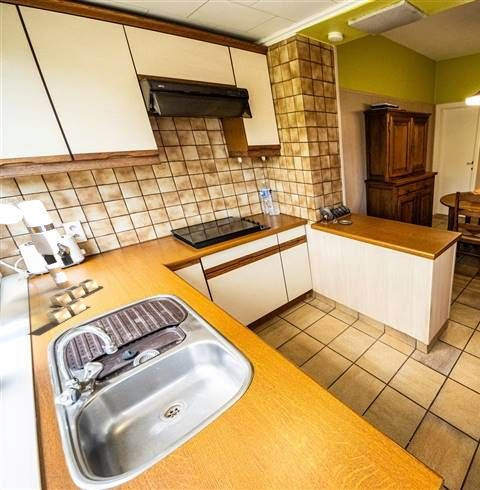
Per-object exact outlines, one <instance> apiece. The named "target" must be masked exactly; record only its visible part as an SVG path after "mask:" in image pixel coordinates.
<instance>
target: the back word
mask: <svg viewBox="0 0 480 490" xmlns="http://www.w3.org/2000/svg"><path fill="white" fill-rule="evenodd" d="M103 289H104V286H103V285H98V288H96V289H94V290H92V291H90V292H85V291H84V290H83V288H82V286H79V285H73V286H71V287H68V288H67V289H64V290H63V292H58V293H56V294H53V295H52V296H50V297H48V299H49V300H50V302H51V303H52V305H51V306H49V307H48V308H49V309H56V308H64V307H63V305H64V304H66V303H68V302H70V301H72V300H80V299H85V298H88V297H89V296H91V295H93V294H95V293H97V292H98V291H101V290H103Z"/></svg>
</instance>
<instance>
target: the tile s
mask: <svg viewBox="0 0 480 490" xmlns="http://www.w3.org/2000/svg"><path fill="white" fill-rule="evenodd" d="M77 286H82V288H83V290H84V291H85V292H90V291H92V290H94V289H96V288H98V286H99V285H98V283H97V281H96V280H95V279H94V278H93V279H91V278H90V279H89V278H87V279H85V280H83V281H81V282H78V285H77Z"/></svg>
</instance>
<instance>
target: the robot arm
mask: <svg viewBox="0 0 480 490" xmlns="http://www.w3.org/2000/svg"><path fill="white" fill-rule="evenodd" d="M21 221H22V223H23V224H24V226H25V228H26V230H27V232H28V233H29V236H30V239H31V242H32V244H33V246H34V247H35V250H36V252H37V253H38V254H39V255H41V257H42V258H43V259H44V262H45V263H46V265H47V264H48V265H51V264H54V263H56V262H58V260H57V259H56V257H55V255H58V256H59V257H60V261H61V262H62V263H63V266H65V267H67V266H70V265H73V264H74V263H75V261H74V260H73V258H72V256H71V251H70V247H69V246H67V245H66V244H65V242H64V240H63V238H62V237H61V235H60V234H59V232H58V231H57V229H56V226H55V224H54V223H53V221H52V219H51V217H50V215H49V213H48V211H47V209H46V207H45V205H44V204H43V202H42V201H41V200H39V199H36V198H35V199H24V200H20V201H16V202H5V203H1V202H0V225H5V226H7V225H15V224H17V223H18V224H19V223H20V222H21Z"/></svg>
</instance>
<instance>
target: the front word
mask: <svg viewBox="0 0 480 490" xmlns="http://www.w3.org/2000/svg"><path fill="white" fill-rule="evenodd" d="M90 308H91V306H89V305H88V306H87V305H85V303H84V301H83V300H82V299H77V300H72V301H70V302H68V303H66V304H64V305H63V307H61V308H53V310H50V311H49V312H47V313H45V316H46V317H47V318H48V320H49V321H50V322H48V323H46V324H44V325H43V326H40V327H39V328H36V329H35V330H33V331H32V332H29V333H28V334H27V335H28V336H38V337H40V336H42V335H43V334H45V333H47V332H49V331H51V330H53V329H54V328H56V327H58V326H60V325H61V324H64V323H66V322H67V321H69V320H70V319H72V318H75V317H76V316H78V315H80V314H81V313H83V312H85V311H86V310H89V309H90Z"/></svg>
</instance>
